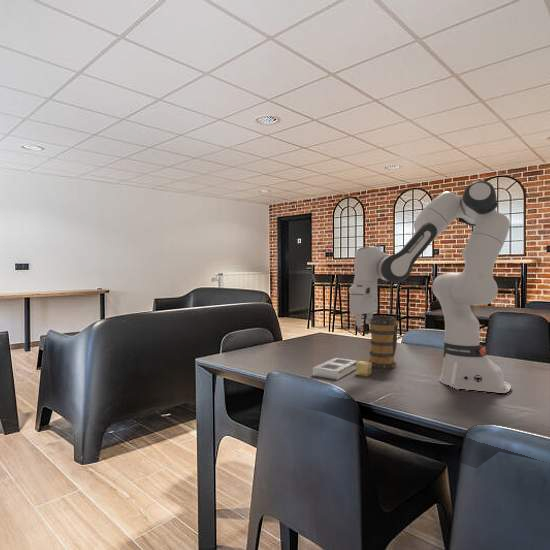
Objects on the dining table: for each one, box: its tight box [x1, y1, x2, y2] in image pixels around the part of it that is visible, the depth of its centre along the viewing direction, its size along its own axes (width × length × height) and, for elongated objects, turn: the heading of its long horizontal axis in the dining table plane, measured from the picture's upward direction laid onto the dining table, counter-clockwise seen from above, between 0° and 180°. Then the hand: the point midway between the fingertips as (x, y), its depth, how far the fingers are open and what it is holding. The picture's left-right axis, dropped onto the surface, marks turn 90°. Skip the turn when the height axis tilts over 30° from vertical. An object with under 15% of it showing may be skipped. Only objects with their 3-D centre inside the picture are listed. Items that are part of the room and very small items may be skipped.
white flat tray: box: [312, 357, 359, 381], centre depth 159 cm, size 10×20×3 cm, turn 147°
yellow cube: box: [355, 360, 373, 377], centre depth 156 cm, size 4×4×4 cm
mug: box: [368, 315, 399, 370], centre depth 171 cm, size 13×17×20 cm
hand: (363, 324), depth 156 cm, fingers open, 8 cm apart
